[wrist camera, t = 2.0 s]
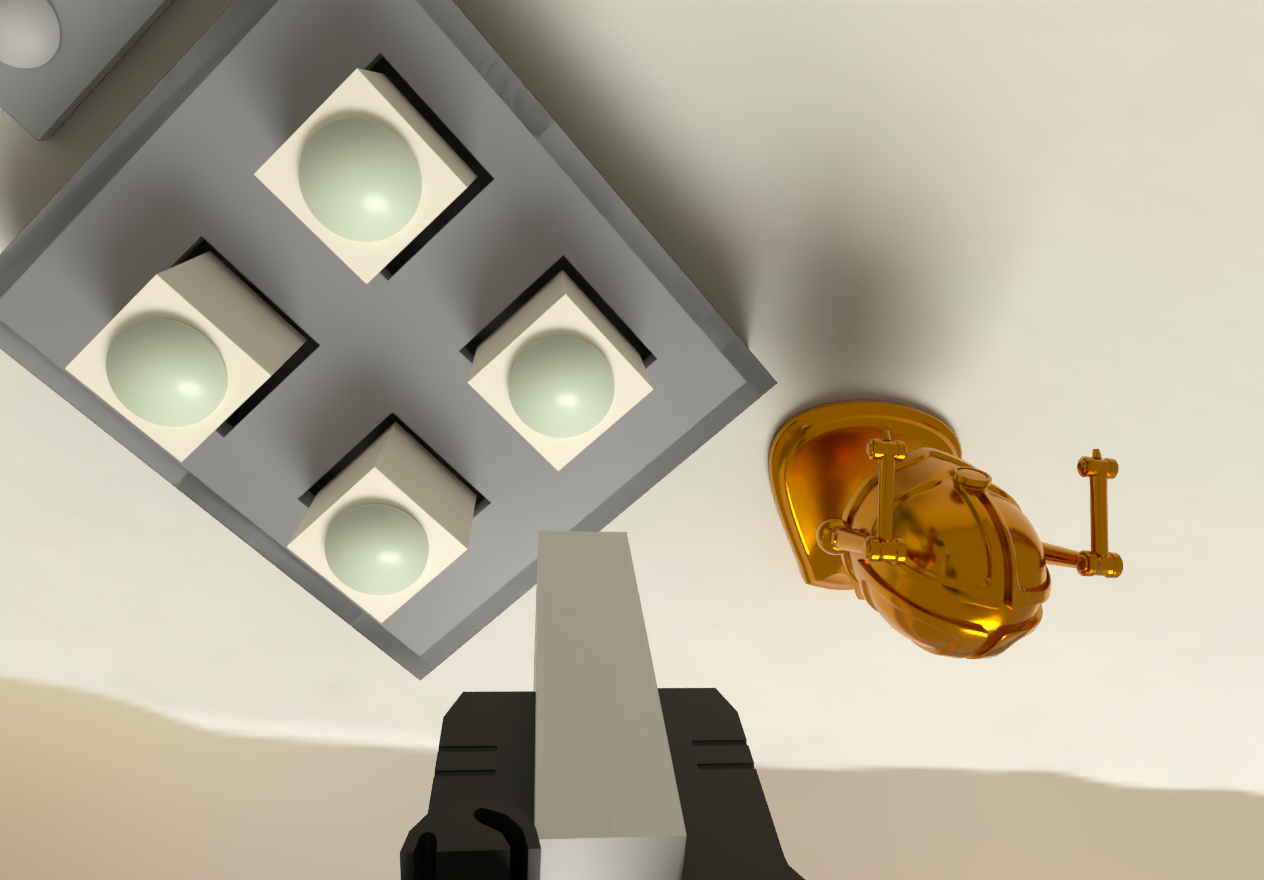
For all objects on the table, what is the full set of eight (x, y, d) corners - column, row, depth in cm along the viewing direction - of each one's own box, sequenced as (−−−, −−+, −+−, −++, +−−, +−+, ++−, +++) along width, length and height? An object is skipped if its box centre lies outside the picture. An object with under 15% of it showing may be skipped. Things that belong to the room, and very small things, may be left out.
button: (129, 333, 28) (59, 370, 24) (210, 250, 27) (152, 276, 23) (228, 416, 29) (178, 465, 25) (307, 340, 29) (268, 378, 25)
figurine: (983, 371, 36) (1182, 489, 25) (921, 591, 40) (1069, 780, 28) (789, 351, 35) (906, 467, 24) (744, 580, 38) (826, 773, 27)
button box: (30, 281, 31) (-50, 308, 27) (377, -88, 28) (347, -123, 23) (433, 616, 37) (420, 680, 33) (748, 349, 34) (777, 382, 30)
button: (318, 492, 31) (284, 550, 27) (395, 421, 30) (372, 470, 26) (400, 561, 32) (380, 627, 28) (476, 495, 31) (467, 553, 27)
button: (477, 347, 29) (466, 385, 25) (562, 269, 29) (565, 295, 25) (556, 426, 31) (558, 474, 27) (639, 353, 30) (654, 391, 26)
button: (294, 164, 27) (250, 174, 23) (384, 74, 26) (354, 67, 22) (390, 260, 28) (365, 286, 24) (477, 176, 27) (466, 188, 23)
